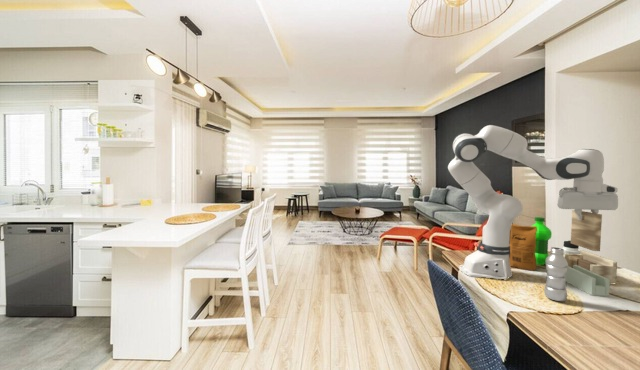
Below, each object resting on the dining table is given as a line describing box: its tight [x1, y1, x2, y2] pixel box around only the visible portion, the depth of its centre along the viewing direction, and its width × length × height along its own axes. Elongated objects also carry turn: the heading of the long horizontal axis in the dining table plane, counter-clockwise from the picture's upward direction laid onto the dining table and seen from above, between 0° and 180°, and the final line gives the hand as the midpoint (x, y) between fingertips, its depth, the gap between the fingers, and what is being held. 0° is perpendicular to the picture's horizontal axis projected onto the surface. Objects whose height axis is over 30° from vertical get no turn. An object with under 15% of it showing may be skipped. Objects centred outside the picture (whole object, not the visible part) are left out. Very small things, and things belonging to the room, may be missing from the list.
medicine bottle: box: [560, 239, 580, 254], centre depth 145 cm, size 7×7×12 cm
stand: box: [565, 265, 611, 297], centre depth 115 cm, size 6×17×7 cm, turn 171°
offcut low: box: [568, 261, 578, 268], centre depth 131 cm, size 3×5×5 cm, turn 171°
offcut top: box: [569, 256, 583, 264], centre depth 130 cm, size 3×4×3 cm
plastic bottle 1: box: [531, 216, 552, 266], centre depth 144 cm, size 10×10×25 cm
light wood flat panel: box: [570, 209, 603, 252], centre depth 114 cm, size 2×12×15 cm, turn 171°
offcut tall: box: [578, 259, 597, 271], centre depth 124 cm, size 3×6×8 cm, turn 171°
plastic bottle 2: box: [543, 246, 568, 302], centre depth 103 cm, size 6×7×20 cm
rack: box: [563, 249, 618, 284], centre depth 126 cm, size 10×18×10 cm, turn 171°
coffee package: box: [509, 223, 537, 271], centre depth 139 cm, size 10×12×22 cm
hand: (585, 220), depth 113 cm, fingers closed on light wood flat panel, 2 cm apart
